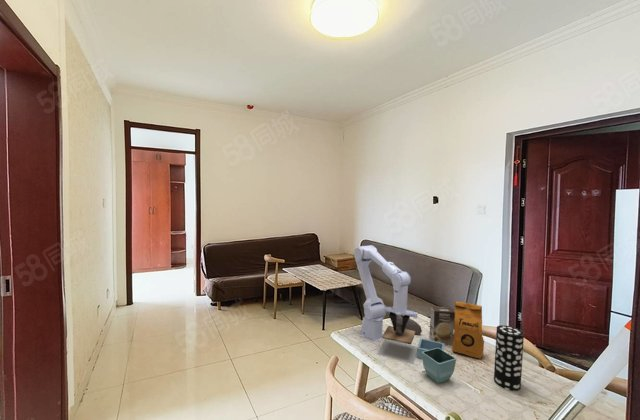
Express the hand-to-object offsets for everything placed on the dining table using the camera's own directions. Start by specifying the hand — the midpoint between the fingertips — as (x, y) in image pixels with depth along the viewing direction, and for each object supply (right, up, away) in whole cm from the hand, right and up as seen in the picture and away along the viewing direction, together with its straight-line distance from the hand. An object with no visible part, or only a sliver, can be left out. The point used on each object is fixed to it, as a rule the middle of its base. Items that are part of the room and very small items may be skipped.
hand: (399, 330), depth 127 cm
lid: (0, -2, 0) cm, 2 cm away
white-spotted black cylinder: (+34, -11, -20) cm, 41 cm away
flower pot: (+10, -11, -18) cm, 23 cm away
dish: (+13, -10, -3) cm, 16 cm away
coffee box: (+22, -10, +9) cm, 26 cm away
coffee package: (+30, -10, +1) cm, 32 cm away
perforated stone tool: (+10, -9, +20) cm, 24 cm away
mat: (0, -9, 0) cm, 9 cm away
